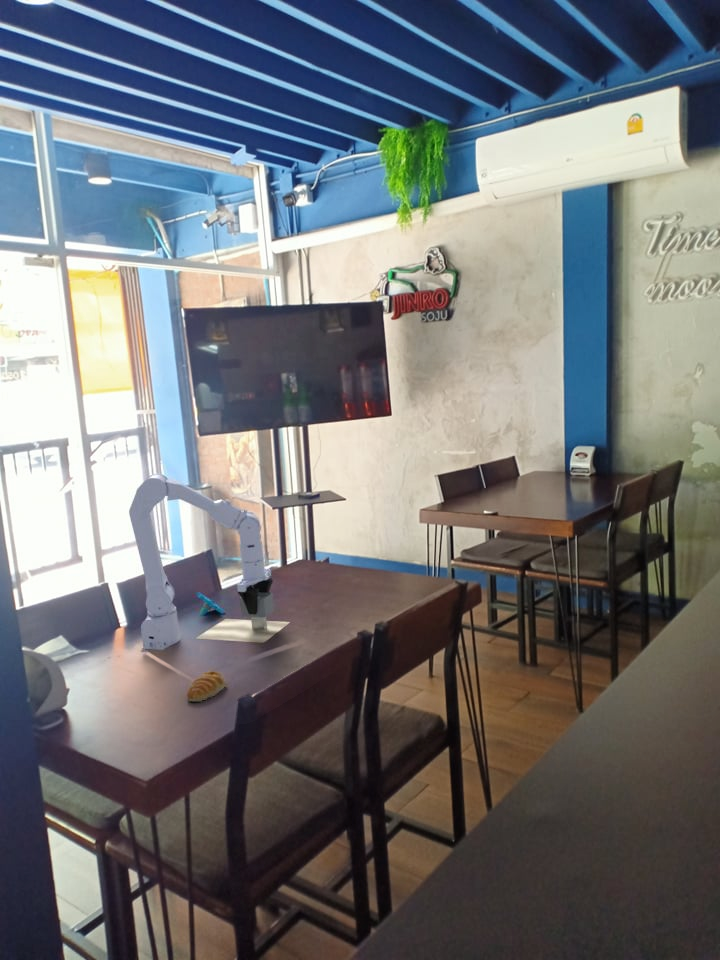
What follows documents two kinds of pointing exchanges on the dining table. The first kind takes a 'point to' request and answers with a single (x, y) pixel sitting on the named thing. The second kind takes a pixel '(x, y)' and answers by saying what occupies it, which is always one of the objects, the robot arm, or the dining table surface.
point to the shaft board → (242, 631)
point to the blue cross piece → (208, 605)
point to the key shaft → (259, 623)
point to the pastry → (206, 686)
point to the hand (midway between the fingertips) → (257, 610)
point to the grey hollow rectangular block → (260, 605)
